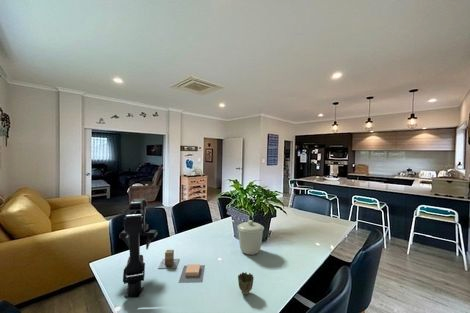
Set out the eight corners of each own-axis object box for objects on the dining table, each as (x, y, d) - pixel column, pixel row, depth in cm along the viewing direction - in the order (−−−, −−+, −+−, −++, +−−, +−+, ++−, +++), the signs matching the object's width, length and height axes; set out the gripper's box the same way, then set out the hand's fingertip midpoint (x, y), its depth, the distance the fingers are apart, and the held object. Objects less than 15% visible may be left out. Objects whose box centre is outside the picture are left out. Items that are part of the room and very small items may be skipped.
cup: (235, 296, 96) (235, 279, 96) (240, 286, 103) (240, 270, 103) (250, 300, 94) (251, 282, 93) (255, 290, 100) (255, 274, 100)
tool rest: (176, 269, 117) (176, 267, 117) (157, 269, 116) (157, 268, 116) (179, 260, 127) (179, 258, 127) (162, 260, 126) (162, 258, 126)
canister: (267, 257, 133) (267, 224, 133) (239, 258, 130) (240, 225, 130) (259, 244, 151) (259, 216, 151) (234, 246, 148) (235, 216, 148)
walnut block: (171, 264, 120) (172, 252, 120) (164, 265, 120) (165, 252, 119) (173, 261, 124) (173, 249, 124) (166, 261, 124) (167, 249, 123)
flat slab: (198, 272, 110) (200, 264, 118) (185, 272, 109) (187, 264, 117) (198, 276, 110) (200, 268, 118) (185, 276, 109) (187, 268, 117)
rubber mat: (202, 283, 105) (202, 282, 105) (178, 283, 104) (178, 282, 104) (204, 266, 121) (204, 265, 121) (184, 266, 120) (184, 265, 120)
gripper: (160, 217, 123) (160, 243, 123) (128, 216, 122) (128, 243, 122) (154, 223, 112) (153, 252, 112) (118, 223, 111) (118, 252, 111)
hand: (138, 249), depth 115 cm, fingers open, 9 cm apart
